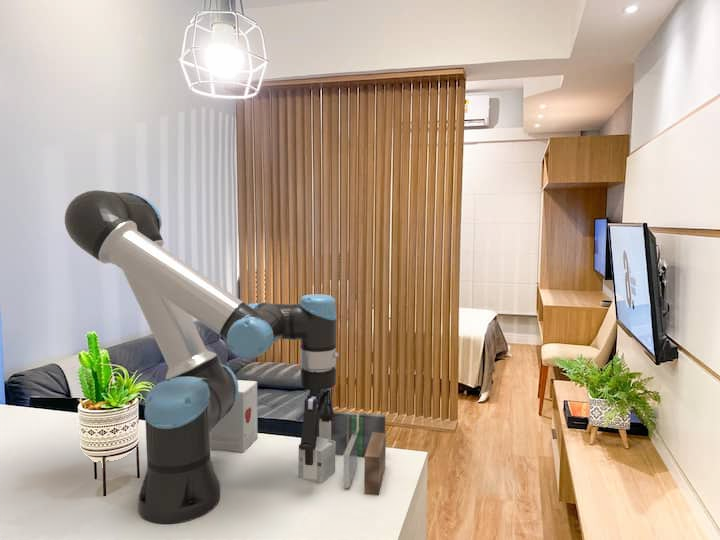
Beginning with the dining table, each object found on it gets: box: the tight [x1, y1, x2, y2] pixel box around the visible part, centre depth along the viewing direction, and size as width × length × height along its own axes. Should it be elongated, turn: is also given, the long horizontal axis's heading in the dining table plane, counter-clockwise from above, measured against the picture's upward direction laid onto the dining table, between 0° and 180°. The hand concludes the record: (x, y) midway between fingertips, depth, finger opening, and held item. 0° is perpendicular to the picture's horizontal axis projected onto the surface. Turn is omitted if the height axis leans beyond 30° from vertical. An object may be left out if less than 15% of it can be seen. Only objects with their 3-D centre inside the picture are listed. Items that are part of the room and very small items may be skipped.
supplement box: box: [210, 379, 258, 453], centre depth 127 cm, size 9×9×15 cm
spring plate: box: [343, 414, 360, 489], centre depth 113 cm, size 1×15×10 cm, turn 171°
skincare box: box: [297, 436, 336, 485], centre depth 112 cm, size 6×6×7 cm
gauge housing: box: [329, 411, 387, 496], centre depth 114 cm, size 14×18×10 cm
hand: (318, 462), depth 112 cm, fingers open, 13 cm apart
